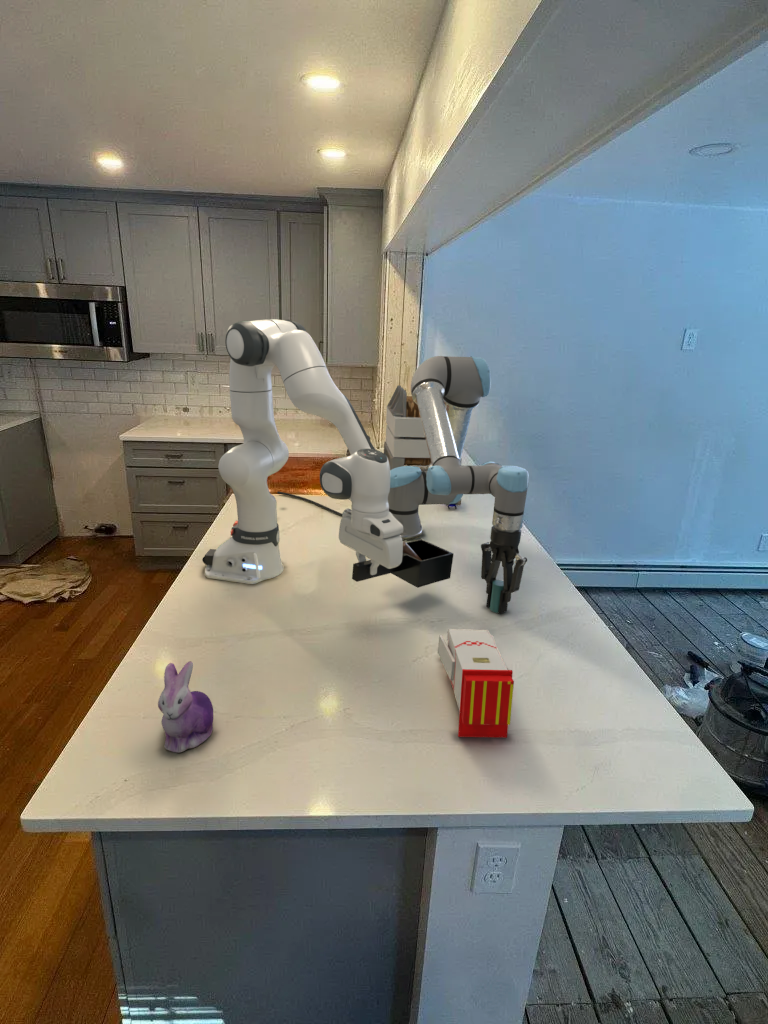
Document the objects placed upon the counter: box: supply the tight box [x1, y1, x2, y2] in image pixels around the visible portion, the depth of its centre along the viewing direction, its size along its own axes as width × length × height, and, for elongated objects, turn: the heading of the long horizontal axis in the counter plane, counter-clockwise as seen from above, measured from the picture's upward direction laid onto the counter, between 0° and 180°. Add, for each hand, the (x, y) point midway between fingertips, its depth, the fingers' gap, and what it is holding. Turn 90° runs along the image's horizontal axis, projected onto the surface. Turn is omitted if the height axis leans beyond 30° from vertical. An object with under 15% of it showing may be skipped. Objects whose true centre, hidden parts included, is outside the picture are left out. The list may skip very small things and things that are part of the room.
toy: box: [437, 628, 515, 738], centre depth 117 cm, size 12×13×30 cm
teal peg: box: [489, 579, 504, 614], centre depth 151 cm, size 4×4×8 cm
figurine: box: [157, 660, 214, 753], centre depth 100 cm, size 9×10×15 cm
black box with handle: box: [351, 538, 454, 588], centre depth 145 cm, size 12×28×7 cm, turn 131°
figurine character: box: [446, 498, 462, 510], centre depth 230 cm, size 7×8×15 cm
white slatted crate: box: [383, 384, 463, 470], centre depth 268 cm, size 34×33×41 cm
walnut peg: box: [403, 540, 422, 561], centre depth 150 cm, size 4×4×8 cm
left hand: (367, 571), depth 139 cm, fingers closed on black box with handle
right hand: (496, 608), depth 152 cm, fingers closed on teal peg, 3 cm apart
